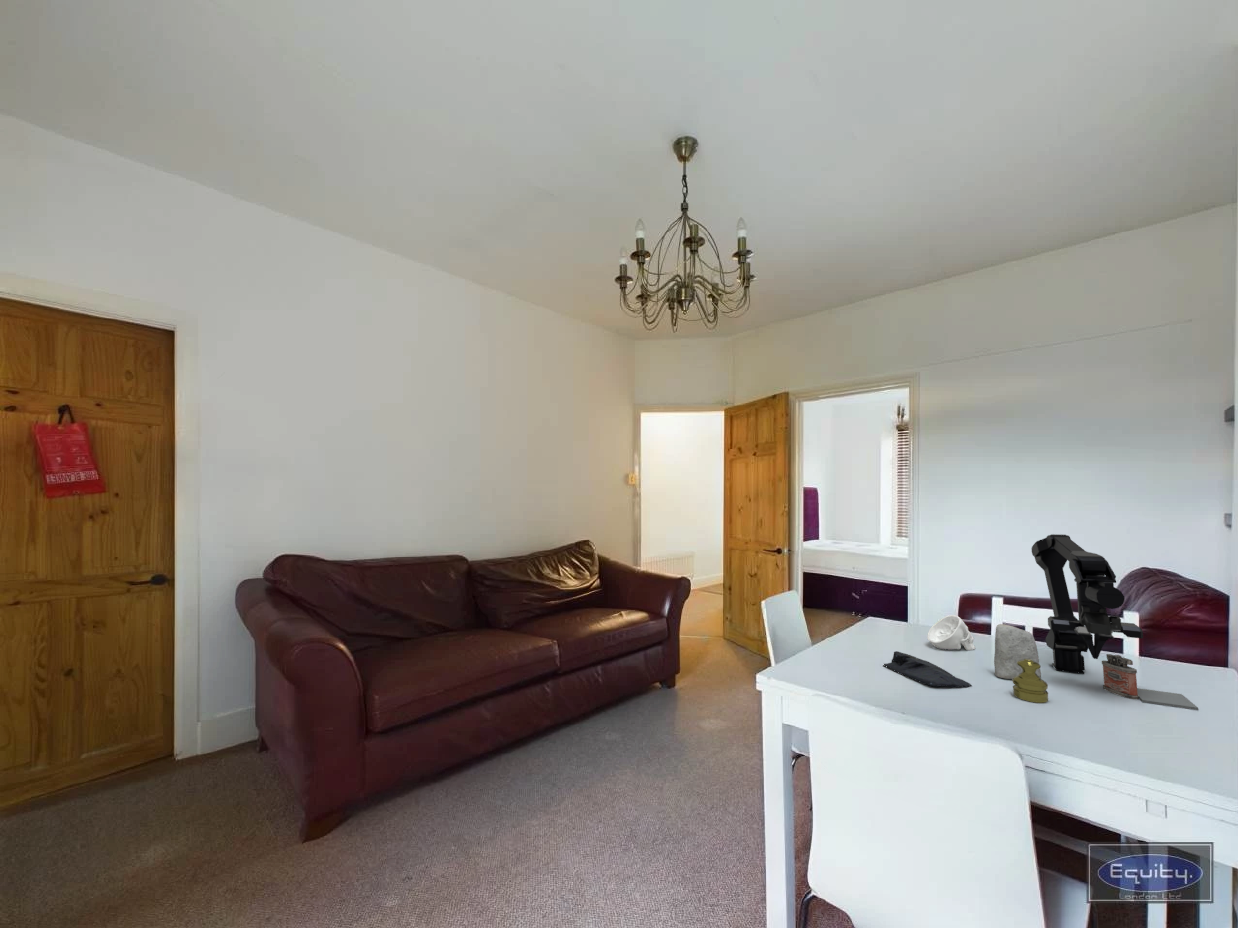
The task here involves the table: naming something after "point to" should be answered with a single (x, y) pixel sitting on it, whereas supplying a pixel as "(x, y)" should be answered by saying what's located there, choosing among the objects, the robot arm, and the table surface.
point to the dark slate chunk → (924, 671)
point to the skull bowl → (950, 634)
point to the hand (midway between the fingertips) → (1095, 658)
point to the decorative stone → (1013, 650)
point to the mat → (1165, 699)
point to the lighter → (1120, 676)
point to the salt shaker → (1030, 683)
